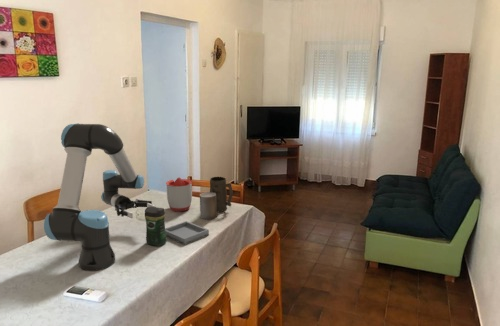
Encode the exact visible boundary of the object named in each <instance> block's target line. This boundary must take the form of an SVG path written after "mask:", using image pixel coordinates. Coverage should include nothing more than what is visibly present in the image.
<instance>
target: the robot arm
mask: <svg viewBox="0 0 500 326" xmlns="http://www.w3.org/2000/svg"><path fill="white" fill-rule="evenodd" d="M60 140H61V141H60V142H61V143H60V144H61V146H62V147H64V151H65V152H66V158H65V162H64V163H65V164H64V169H63V173H62V180H61V185H60V191H59V195H58V201H57V204H56V205H55V206H54V207H53V208H52V212H50V213H48V214H46V216H45V217H44V220H43V230H44V233H45V236H46V237H47V238H48V239H49V240H53V241H59V242H61V241H67V242H68V241H70V242H81V245H80V246H81V250H80V254H79V258H78V266H79V268H80V269H81V270H84V271H88V272H89V271H92V272H93V271H100V270H104V269H107V268H108V267H110V266H112V265H113V264H114V263H115V262H116V255H115V252H114V250H113V248H112V246H111V244H110V243H111V240H110V230H109V229H110V227H109V220H108V215H107V213H105V212H104V211H101V210H98V209H90V210H89V209H86V210H81V208H79V205H80V201H81V195H82V194H81V193H82V188H83V183H84V177H85V171H86V166H87V160H88V157H89V156H91V155H92V151H93V150H96V149H97V150H102V151H103V152H104V153H105V154H106V155H107V156H109V158H110V159H111V162H112V163H113V164H114V166H115V168H116V170H115V169H110V170H109V169H108V170H105V171H103V172H102V184H103V191H102V193H101V195H100V198H101V199H100V200H101V201H102V202H103V203H105V204H106V205H109V206H111V207H113V208H114V211H116V216H117V217H120V216H121V217H123V218H124V216H125V217H127V218H130V219H133V217H134V216H133V212H132V211H129V210H130V209H136V208H148V207H150V206H152V207H157V206H156V205H154V204H153V202H152V200H145V199H144V200H143V199H137V198H136V199H135V200H131V199H130V197H128V196H125V195H123V194H120V193H119V189H129V190H130V189H131V190H133V189H134V190H136V189H137V190H138V189H139V190H140V189H143V188H144V185H145V177H144V176H143V175H142V174H141V175H140V174H137V172H136V170H135V168H134V166H133V163H132V162H131V160H130V159H129V157H128V155H127V153H126V150H125V148H124V142H123V140H122V139H121V137H120V136H119V135H118V134H117V133H116V132H115V131H114V130H112V129H111V128H110V127H108V126H107V125H105V124H100V123H80V122H79V123H69V124H67V125H66V126H65V127H64V128H63V129H62V132H61V135H60ZM118 173H119V174H118Z"/></svg>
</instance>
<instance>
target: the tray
mask: <svg viewBox="0 0 500 326" xmlns="http://www.w3.org/2000/svg"><path fill="white" fill-rule="evenodd" d="M165 231H166V238H168V239H171V240H173V241H176V242H177V243H180V244H181V245H184V246H185V245H188V244H190V243H193V242H194V241H195V242H196V241H197V240H200V239H203V238H205V237H208V236H209V235H210V233H209V232H210V231H209V229H208V228H205V227H203V226H200V225H198V224H195V223H193V222H190V221H187V220H186V221H183V222H180V223H177V224H174V225H171V226H169V227H165Z"/></svg>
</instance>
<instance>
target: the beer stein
mask: <svg viewBox="0 0 500 326" xmlns="http://www.w3.org/2000/svg"><path fill="white" fill-rule="evenodd" d="M209 185H210V186H209V192H213V193H216V204H217V205H216V206H217V213H221V212H225V211H227V209H228V207H232V202H231V201H232V199H233V196H234V191H233V187H232V183H231V182H228V183H227V179H226V178H225V177H224V176H223V177H222V176H214V177H213V176H212V177H210V179H209ZM227 189H228V190H227ZM227 191H229V193H228V192H227Z"/></svg>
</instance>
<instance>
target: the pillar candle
mask: <svg viewBox="0 0 500 326" xmlns="http://www.w3.org/2000/svg"><path fill="white" fill-rule="evenodd" d="M216 205H217V204H216V193H213V192H210V191H208V192H207V191H205V192H202V193H200V194H199V209H200V210H199V211H200V213H199V215H200V218H201V219H202V220H207V221H208V220H214V219H216V218H217V217H218V215H217V214H218V212H217V206H216Z"/></svg>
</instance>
